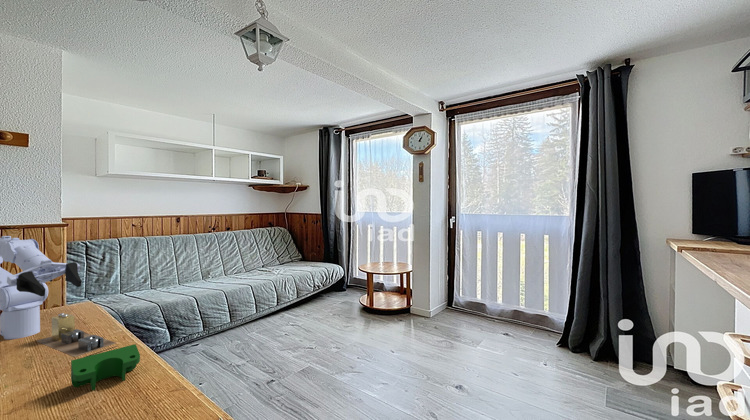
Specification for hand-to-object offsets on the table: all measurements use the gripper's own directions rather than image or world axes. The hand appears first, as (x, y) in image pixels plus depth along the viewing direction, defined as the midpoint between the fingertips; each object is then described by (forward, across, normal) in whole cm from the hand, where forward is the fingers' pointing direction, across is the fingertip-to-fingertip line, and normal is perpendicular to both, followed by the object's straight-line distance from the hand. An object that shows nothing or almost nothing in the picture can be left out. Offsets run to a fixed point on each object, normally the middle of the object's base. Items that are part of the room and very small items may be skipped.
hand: (62, 288), depth 87 cm
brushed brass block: (+1, +1, +16) cm, 17 cm away
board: (+8, +1, +14) cm, 16 cm away
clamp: (+34, -6, +2) cm, 34 cm away
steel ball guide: (+11, +1, +12) cm, 16 cm away
